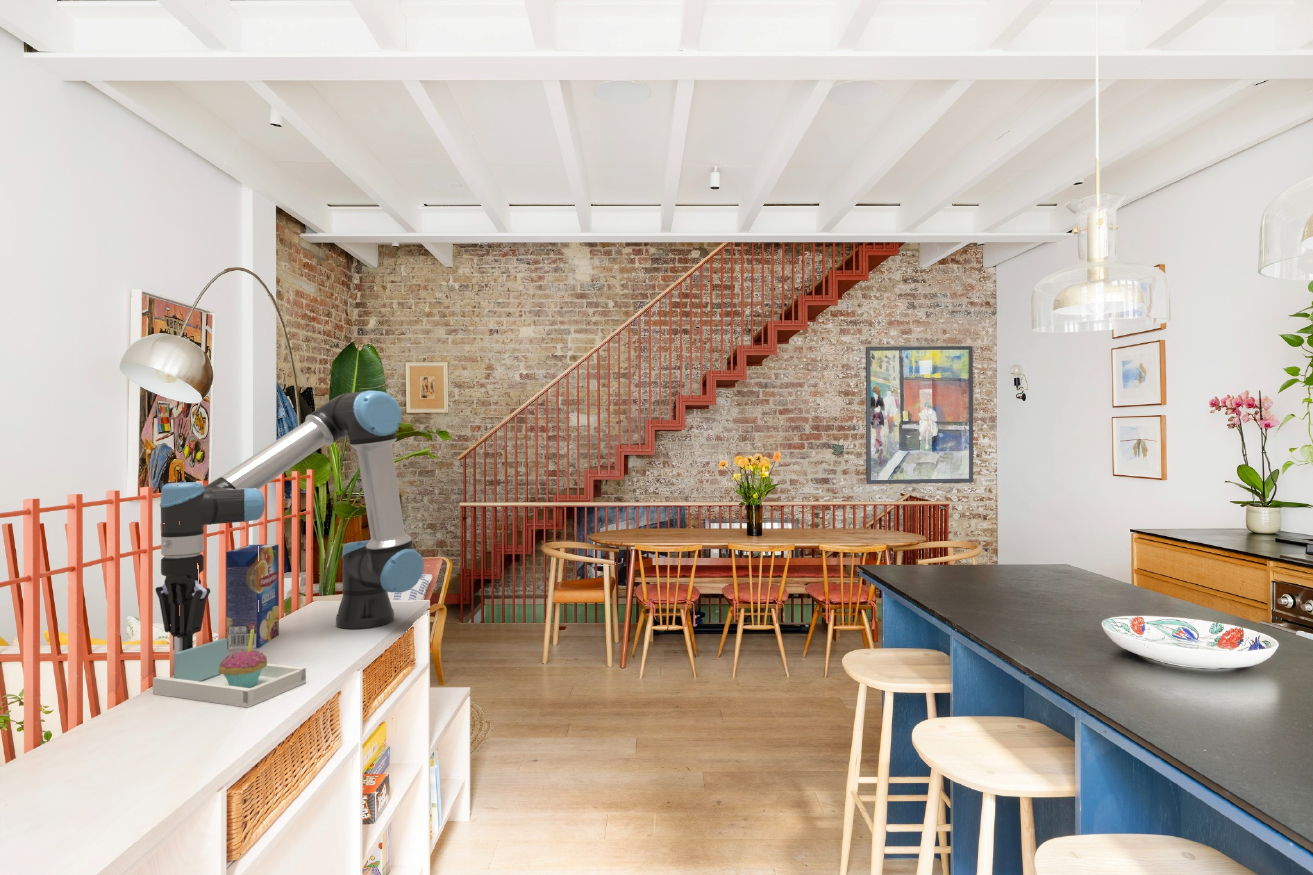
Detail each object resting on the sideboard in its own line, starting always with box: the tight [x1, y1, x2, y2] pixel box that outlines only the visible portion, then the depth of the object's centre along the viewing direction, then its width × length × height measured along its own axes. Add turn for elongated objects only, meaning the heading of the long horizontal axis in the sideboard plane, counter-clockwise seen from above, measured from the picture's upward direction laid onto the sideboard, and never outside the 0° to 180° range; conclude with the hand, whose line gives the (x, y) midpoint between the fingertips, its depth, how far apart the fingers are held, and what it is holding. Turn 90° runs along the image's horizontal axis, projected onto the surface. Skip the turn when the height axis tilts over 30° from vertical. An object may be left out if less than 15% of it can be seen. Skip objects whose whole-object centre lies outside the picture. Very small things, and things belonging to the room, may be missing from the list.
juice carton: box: [225, 543, 280, 651], centre depth 175 cm, size 12×8×24 cm, turn 7°
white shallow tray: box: [152, 662, 307, 708], centre depth 142 cm, size 14×25×3 cm, turn 72°
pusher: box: [173, 637, 228, 681], centre depth 145 cm, size 11×5×7 cm, turn 162°
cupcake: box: [218, 626, 268, 688], centre depth 141 cm, size 9×8×12 cm
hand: (182, 665), depth 146 cm, fingers closed
